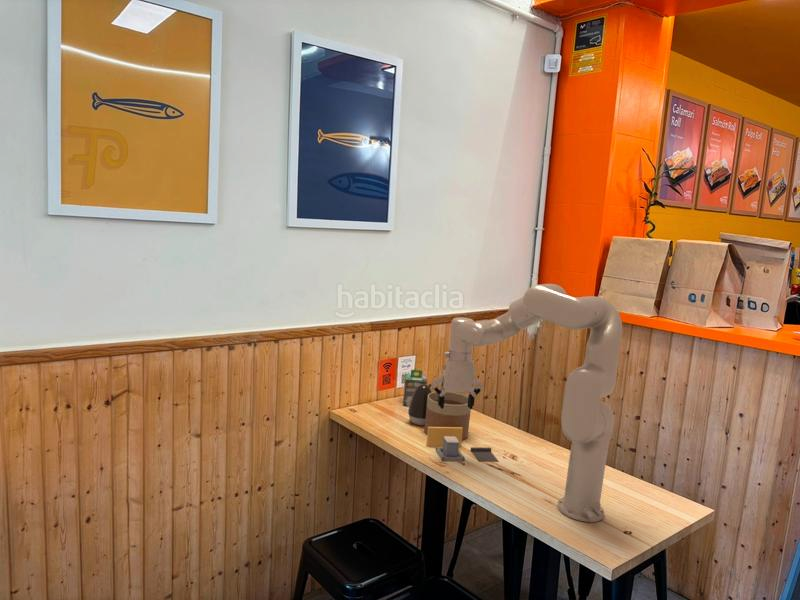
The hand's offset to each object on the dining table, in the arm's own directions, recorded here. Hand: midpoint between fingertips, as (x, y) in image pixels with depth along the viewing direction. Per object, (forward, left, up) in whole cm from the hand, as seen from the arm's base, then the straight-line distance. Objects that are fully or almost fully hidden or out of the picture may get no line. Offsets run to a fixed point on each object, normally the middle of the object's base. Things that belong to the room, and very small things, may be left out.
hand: (455, 407), depth 190 cm
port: (+2, 0, -17) cm, 17 cm away
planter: (+20, -4, -17) cm, 27 cm away
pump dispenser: (+31, +3, -17) cm, 36 cm away
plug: (0, 0, -17) cm, 17 cm away
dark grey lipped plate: (0, -12, -17) cm, 21 cm away
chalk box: (+54, +1, -17) cm, 57 cm away
